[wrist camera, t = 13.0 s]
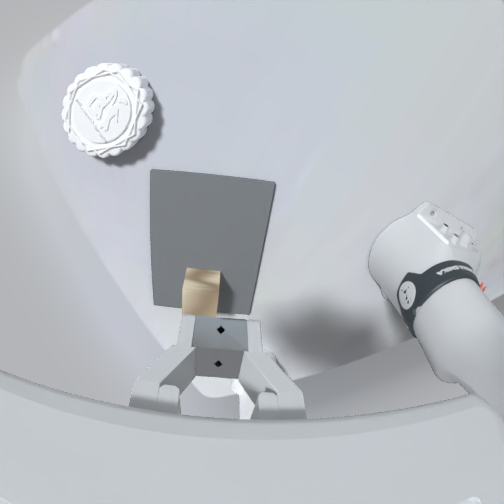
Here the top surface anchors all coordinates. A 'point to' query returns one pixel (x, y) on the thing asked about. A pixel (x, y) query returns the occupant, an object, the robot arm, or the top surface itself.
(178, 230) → the rubber mat
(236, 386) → the white cylinder with post
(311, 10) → the top surface
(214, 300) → the maple block
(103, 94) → the white mooncake
